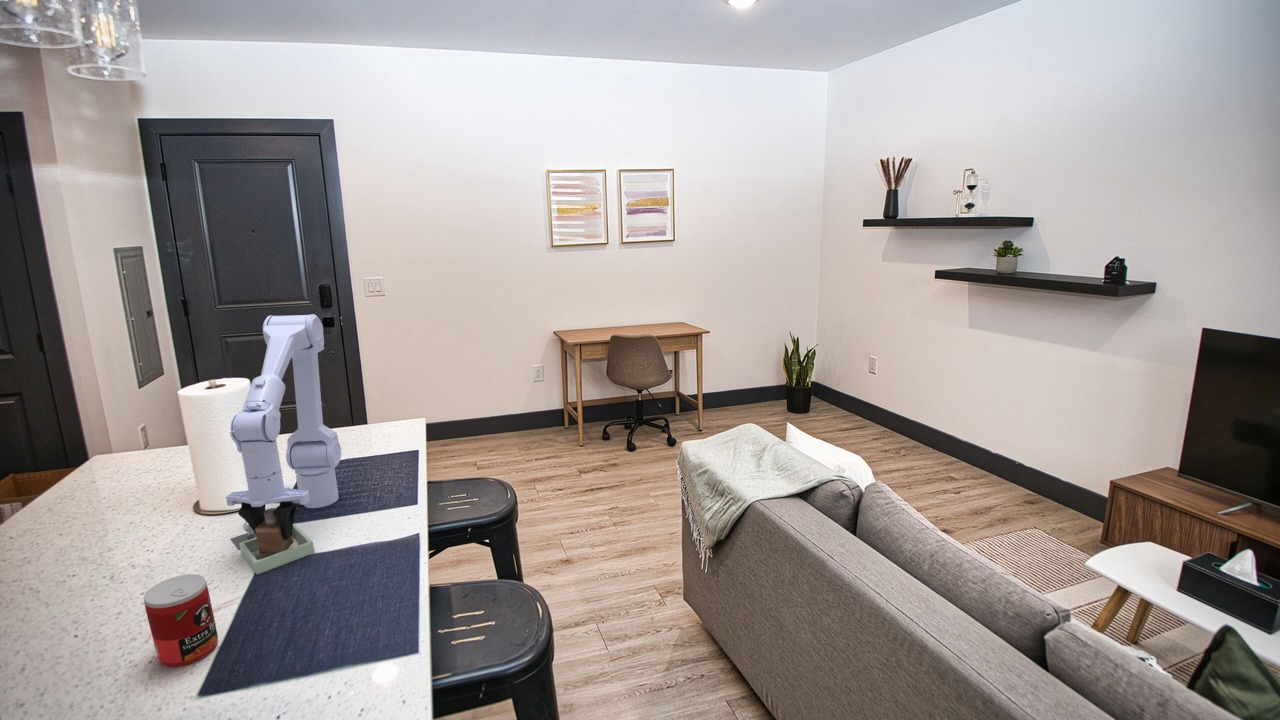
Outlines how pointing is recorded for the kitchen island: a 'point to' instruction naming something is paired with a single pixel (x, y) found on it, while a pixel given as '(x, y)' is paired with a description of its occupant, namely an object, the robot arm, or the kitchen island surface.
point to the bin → (280, 557)
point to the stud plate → (244, 536)
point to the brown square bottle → (271, 535)
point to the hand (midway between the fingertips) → (275, 537)
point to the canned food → (181, 619)
